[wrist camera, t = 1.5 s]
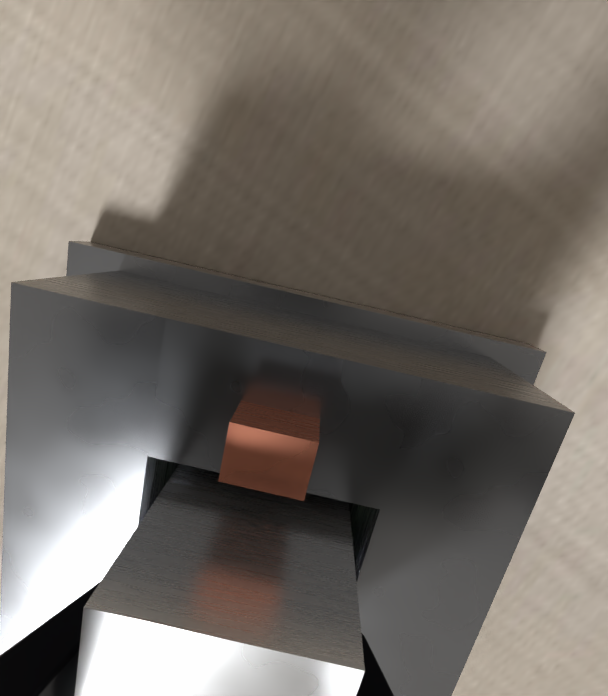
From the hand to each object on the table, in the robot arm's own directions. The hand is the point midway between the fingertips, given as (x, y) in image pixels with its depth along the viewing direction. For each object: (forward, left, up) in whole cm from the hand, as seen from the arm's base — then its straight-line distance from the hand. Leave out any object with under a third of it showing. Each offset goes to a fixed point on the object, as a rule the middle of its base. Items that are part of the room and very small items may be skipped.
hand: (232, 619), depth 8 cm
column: (0, 0, -5) cm, 5 cm away
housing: (0, 0, -6) cm, 6 cm away
